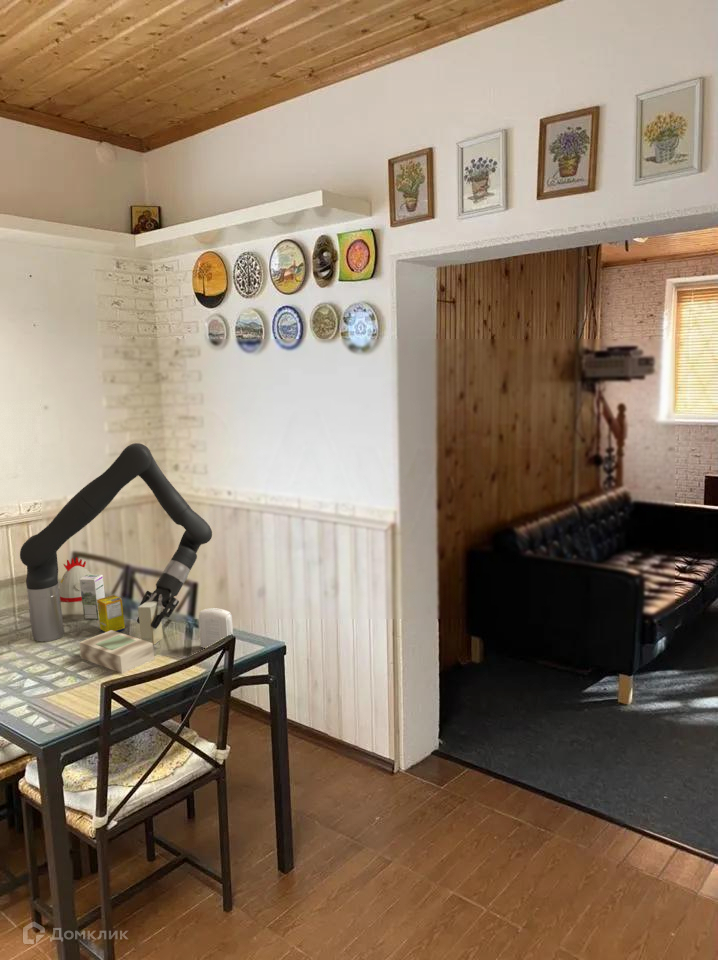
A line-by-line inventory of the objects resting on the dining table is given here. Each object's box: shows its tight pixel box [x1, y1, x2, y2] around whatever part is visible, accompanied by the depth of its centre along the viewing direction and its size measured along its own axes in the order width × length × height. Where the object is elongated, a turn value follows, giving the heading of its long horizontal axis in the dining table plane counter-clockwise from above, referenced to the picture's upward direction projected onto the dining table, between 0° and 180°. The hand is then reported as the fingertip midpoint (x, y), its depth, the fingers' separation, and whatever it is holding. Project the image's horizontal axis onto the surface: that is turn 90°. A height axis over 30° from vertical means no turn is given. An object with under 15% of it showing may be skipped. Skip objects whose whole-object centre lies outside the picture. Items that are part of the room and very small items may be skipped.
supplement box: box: [97, 594, 126, 633], centre depth 234 cm, size 6×6×11 cm
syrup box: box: [80, 574, 106, 620], centre depth 248 cm, size 6×6×14 cm
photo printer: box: [198, 607, 234, 649], centre depth 216 cm, size 10×4×12 cm, turn 72°
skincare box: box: [137, 601, 164, 646], centre depth 223 cm, size 6×4×12 cm
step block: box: [78, 630, 155, 674], centre depth 212 cm, size 20×11×5 cm, turn 53°
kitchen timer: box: [59, 556, 92, 603], centre depth 271 cm, size 14×14×15 cm
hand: (146, 625), depth 222 cm, fingers closed on skincare box, 6 cm apart
